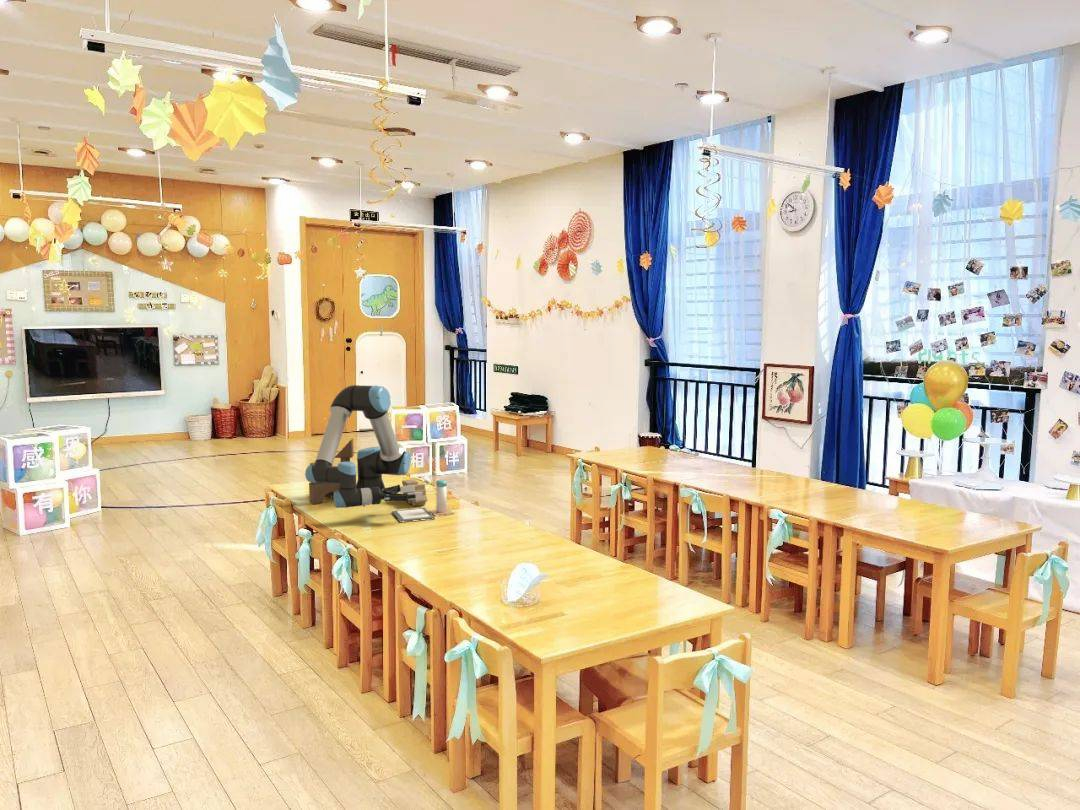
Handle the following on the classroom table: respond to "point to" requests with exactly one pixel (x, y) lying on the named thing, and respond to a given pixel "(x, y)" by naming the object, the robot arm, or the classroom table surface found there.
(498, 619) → the classroom table surface
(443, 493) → the white bottle
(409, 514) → the writing board
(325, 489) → the wooden blocks
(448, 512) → the coaster
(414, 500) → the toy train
